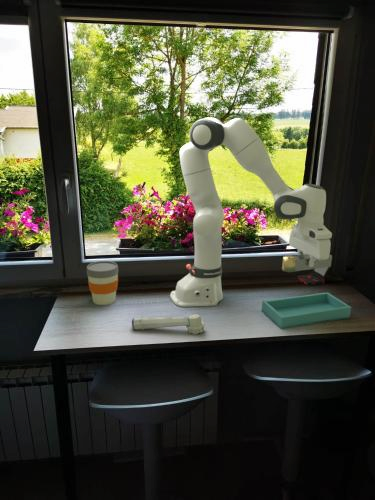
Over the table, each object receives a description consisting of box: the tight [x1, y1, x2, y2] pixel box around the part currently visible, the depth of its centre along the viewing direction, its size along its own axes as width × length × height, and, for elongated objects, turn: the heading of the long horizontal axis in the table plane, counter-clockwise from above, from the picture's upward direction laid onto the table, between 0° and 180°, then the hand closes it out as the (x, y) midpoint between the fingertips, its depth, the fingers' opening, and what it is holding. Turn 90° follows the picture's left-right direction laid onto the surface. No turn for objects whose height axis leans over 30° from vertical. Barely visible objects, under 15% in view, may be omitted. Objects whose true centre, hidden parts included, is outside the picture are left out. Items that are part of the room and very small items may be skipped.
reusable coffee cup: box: [86, 260, 120, 306], centre depth 149 cm, size 13×13×15 cm
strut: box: [281, 254, 333, 273], centre depth 139 cm, size 20×5×5 cm, turn 108°
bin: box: [261, 291, 352, 330], centre depth 141 cm, size 30×14×4 cm, turn 108°
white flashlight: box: [131, 314, 205, 335], centre depth 129 cm, size 5×7×25 cm
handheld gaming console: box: [297, 262, 333, 286], centre depth 173 cm, size 9×12×10 cm
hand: (305, 263), depth 139 cm, fingers closed on strut, 4 cm apart
